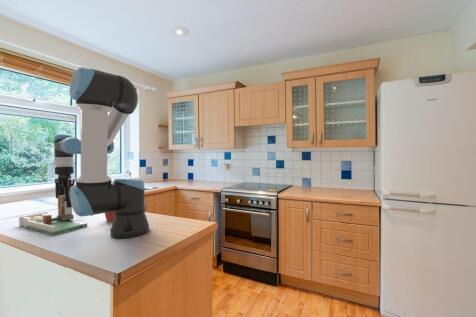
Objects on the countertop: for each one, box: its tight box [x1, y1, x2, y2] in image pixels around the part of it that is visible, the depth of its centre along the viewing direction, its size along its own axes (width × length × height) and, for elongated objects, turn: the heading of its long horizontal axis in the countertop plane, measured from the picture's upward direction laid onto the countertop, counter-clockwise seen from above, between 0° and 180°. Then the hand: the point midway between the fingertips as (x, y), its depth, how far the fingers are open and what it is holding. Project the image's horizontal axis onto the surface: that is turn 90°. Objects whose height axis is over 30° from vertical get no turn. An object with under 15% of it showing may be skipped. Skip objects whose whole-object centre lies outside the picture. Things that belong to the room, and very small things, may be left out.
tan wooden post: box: [43, 195, 74, 224], centre depth 114 cm, size 6×11×12 cm, turn 153°
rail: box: [66, 219, 88, 229], centre depth 115 cm, size 24×2×2 cm, turn 63°
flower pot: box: [104, 211, 115, 223], centre depth 121 cm, size 11×11×10 cm
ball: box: [32, 216, 43, 222], centre depth 114 cm, size 4×4×4 cm
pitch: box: [18, 211, 82, 236], centre depth 110 cm, size 30×11×4 cm, turn 63°
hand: (65, 213), depth 117 cm, fingers open, 4 cm apart
